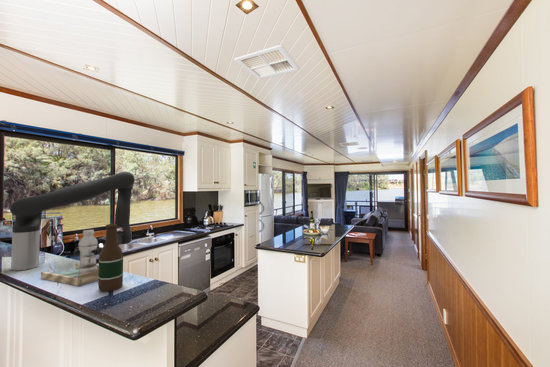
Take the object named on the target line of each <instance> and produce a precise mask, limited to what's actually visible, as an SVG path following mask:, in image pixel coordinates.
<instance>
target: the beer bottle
mask: <svg viewBox="0 0 550 367" xmlns="http://www.w3.org/2000/svg"><path fill="white" fill-rule="evenodd" d="M105 228H106V231H105V236H106V241H105V246H104V248H103V249H102V250H101V252H100V254H98V266H99V274H98V280H97V281H98V284H97V285H98V290H99V292H100V293H101V292H102V293H104V292H105V293H108V292H113V291H116V290H119V289H121V287H123V282H124V281H123V280H124V252H123V250H122V248H121V247H120V245H119V246H118V242H117V231H118V229H117V228H119V227H118V226H117V224H114V223H109V224H106V226H105Z"/></svg>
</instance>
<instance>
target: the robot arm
mask: <svg viewBox="0 0 550 367" xmlns="http://www.w3.org/2000/svg"><path fill="white" fill-rule="evenodd" d="M135 180H136V179H135V176H134V175H133V173H131V172H130V171H120V172H117V173H115V174H112V175H109V176H106V177H102V178H98V179H93V180H88V181H83V182H79V183H75V184H71V185H68V186H64V187H62V188H58V189H55V190H54V191H53V190H52V191H50V192H47V193H43V194H38V195H33V196H27V197H21V198H18V199H16V200H14V201H12V203H11V204H10V207H9V211H10V213H11V214H12V215H13V216H15V219H14V224H13V226H12V228H11V229H12V230H11V231H12V232H11V233H12V234H11V235H12V237H11V271H15V272H18V271H25V270H30V269H34V268H38V267H39V266H40V238H41V237H40V236H41V235H40V234H41V233H40V232H41V231H40V230H41V225H42V214H43V212H44V211H47V210H50V209H53V208H58V207H64V206H69V205H72V204H77V203H82V202H85V201H87V200H90V199H95V198H96V197H98V196H101V195H102V194H104V193H107V192H110V191H114V190H115V191H116V190H117V201H116V207H115V213H114V223H113V224H117V226H118V227H117V228H122V230H117V242H118V246H119V247H120V245H129V244H130V243H131V241H132V239H133V234H132V230H131V229H132V228H131V226H130V224H131V223H130V220H131V219H130V218H131V199H132V198H131V196H132V192H133V187H134V185H135ZM96 239H97V241H98V244H97V249H95V250H94V255H96V256H99V255H100V252H101V250H102V249H103V248H104V246H105V241H106V235H104V236H101V237H99V238H96ZM73 256H74V257H77V256H80V251H79V246H76V247H75V248H74V251H73Z"/></svg>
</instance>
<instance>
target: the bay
mask: <svg viewBox="0 0 550 367" xmlns="http://www.w3.org/2000/svg"><path fill="white" fill-rule="evenodd" d="M74 266H75V267H74V269H73V270H68V271H65V272H60V273H53V272H48V271H41V272H40V279H41V278H42V279H43V280H46V279H47V280H48V281H51V280H52V282H57V283H61V284H66V285H71V286H76V287H80V286H84V285H87V284H90V283H93V282H95V281H98V274H99V265H97V270H94V271H91V272H87V273H84V274H81V275H78V270H79V266H80V262H77V263H76V262H75V265H74Z"/></svg>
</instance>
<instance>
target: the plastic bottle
mask: <svg viewBox="0 0 550 367" xmlns="http://www.w3.org/2000/svg"><path fill="white" fill-rule="evenodd" d="M94 235H95V230H94V229H84V230H82V236H83V237H82V238H80V240H79V242H78V247H79V251H80V255H79V263H80V266H79V270H78V275H81V274H84V273H87V272H91V271H94V270H97V266H98V265H97V255H94V250H95V249H97V244H98V241H97V239H98V238H96V237H95V236H94Z"/></svg>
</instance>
